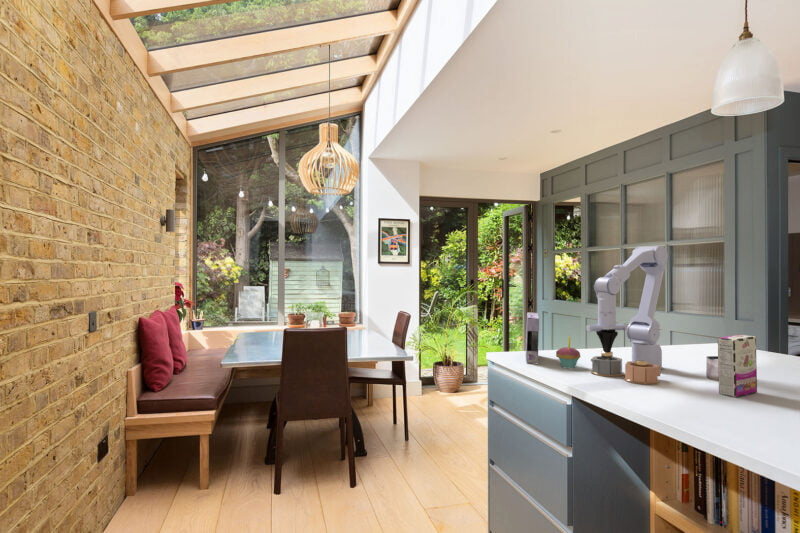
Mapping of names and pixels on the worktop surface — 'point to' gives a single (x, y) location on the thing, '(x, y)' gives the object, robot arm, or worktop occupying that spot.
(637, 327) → the robot arm
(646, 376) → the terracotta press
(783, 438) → the worktop surface
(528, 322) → the cake pan box
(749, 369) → the candy bar box
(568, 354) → the cupcake
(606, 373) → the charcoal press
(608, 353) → the brass-capped silver knob
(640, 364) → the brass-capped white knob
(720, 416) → the worktop surface
